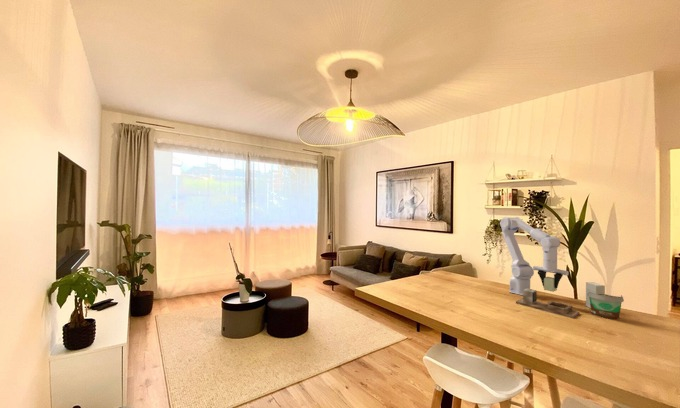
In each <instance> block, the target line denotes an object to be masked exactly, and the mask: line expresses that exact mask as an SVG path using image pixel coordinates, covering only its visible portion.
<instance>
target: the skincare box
mask: <svg viewBox="0 0 680 408" xmlns="http://www.w3.org/2000/svg"><path fill="white" fill-rule="evenodd" d="M589 292H591V293H594V294H606V286H605V285H604V284H600V283H596V282H590V281H589V282H585V306H586V307H588V308H589V309H591V307H590V299H589V296H587V294H588V293H589Z"/></svg>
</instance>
